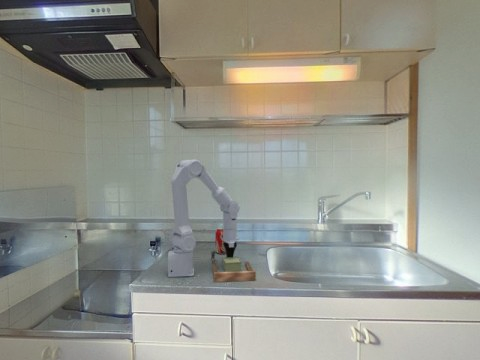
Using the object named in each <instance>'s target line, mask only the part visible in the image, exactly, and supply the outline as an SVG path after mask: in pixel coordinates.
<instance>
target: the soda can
mask: <svg viewBox="0 0 480 360" xmlns="http://www.w3.org/2000/svg"><path fill="white" fill-rule="evenodd" d="M214 234H215V236H214V237H215V241H214V242H215V245H214V247H215V253H218V254H220V255H226V250H225V247H224V245H223V243H226V242H224V241H223V226H217V227H216V230H215V233H214Z"/></svg>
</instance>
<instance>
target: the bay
mask: <svg viewBox="0 0 480 360" xmlns="http://www.w3.org/2000/svg"><path fill="white" fill-rule="evenodd" d="M244 266H245V268H246V270H241V271H236V272H225V271H218V265H217V262H215V263H212V273H213V282H214V283H221V282H222V283H224V282H246V281H247V282H249V281H256V277H257V276H256V275H257V272H256V270H254V269H253V268H252V266H251V264H250V262H249V261H245V262H244Z"/></svg>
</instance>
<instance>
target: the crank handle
mask: <svg viewBox="0 0 480 360" xmlns="http://www.w3.org/2000/svg"><path fill="white" fill-rule="evenodd" d="M215 253H216V251H214V250H213V251H211V252H210V254H211V256H210V257H211V264H213V263H216V257H215V256H216V255H215Z"/></svg>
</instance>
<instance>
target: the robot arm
mask: <svg viewBox="0 0 480 360" xmlns="http://www.w3.org/2000/svg"><path fill="white" fill-rule="evenodd" d="M195 178H196V179H198V180H200V181H201V183H203V185H205V186H206V187H207V189H208V190H209V191H210V192H211V197H212V199H214V201H215V202H216V203H217V204H218V205H219V208H220V211H221V212H222V218H223V220H222V221H223V222H222V223H223V224H222V227H223V241H224V242H226V243H223V245H224V247H225V250H226V254H225V255H226V258H227V257H234V255H235V250H236V248H237V246H238V244H237V241H240V237H238V236H237V235H238V234H237V233H238V232H237V231H238V230H237V228H238V227H237V224H238V223H237V222H238V221H237V217H238V213H239V211H240V208H241V206H239V203H238V202H237V201H236V200H233V197H232V196H230V194H228V192H227V189H226V188H225V187H223V186H219V185H218V184H217V183H216V181H215V180H214V179H213V177H212V176H211V175H210V173H209V172H208V171H207V169H206V167H205V165H204V164H202V162H201V161H200V160H199V159H182V160H180V161H179V162H178V163H177V164H176V165H175V171H174V173H173V175H172V178H171V182H170V183H171V192H172V193H171V194H172V203H173V214H174V215H173V217H174V227H173V229H172V236H171V239H170V241H171V245H172V246H173V250H169V251H168V254H167V255H168V257H167V277H168V278H176V277H178V278H179V277H193V276H194V274H195V268H194V259H193V258H194V252H193V251H194V249H195V247H196V246H197V240H196V238H195V236H194V233H193V232H194V231H193V230H192V227H191V226H190V219H189V205H188V194H187V193H188V191H187V185H188V184H189V182H190V181H191V180H193V179H195Z"/></svg>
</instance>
